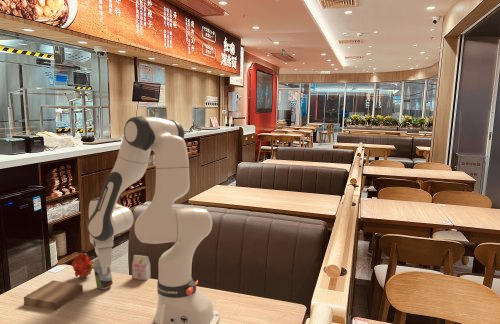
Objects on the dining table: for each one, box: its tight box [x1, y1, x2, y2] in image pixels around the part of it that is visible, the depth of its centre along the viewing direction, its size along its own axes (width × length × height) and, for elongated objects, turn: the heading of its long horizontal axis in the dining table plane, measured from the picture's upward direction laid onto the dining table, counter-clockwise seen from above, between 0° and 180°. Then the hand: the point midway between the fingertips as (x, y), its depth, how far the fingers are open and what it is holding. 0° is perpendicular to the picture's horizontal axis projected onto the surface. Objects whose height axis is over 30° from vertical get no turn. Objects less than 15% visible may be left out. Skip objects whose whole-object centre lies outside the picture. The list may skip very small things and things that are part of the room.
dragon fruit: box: [71, 249, 95, 279], centre depth 157 cm, size 8×8×12 cm
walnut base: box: [23, 280, 84, 311], centre depth 140 cm, size 14×14×4 cm
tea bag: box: [131, 254, 152, 282], centre depth 158 cm, size 4×7×10 cm, turn 76°
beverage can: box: [92, 258, 114, 290], centre depth 149 cm, size 6×7×12 cm
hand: (102, 269), depth 149 cm, fingers open, 7 cm apart
